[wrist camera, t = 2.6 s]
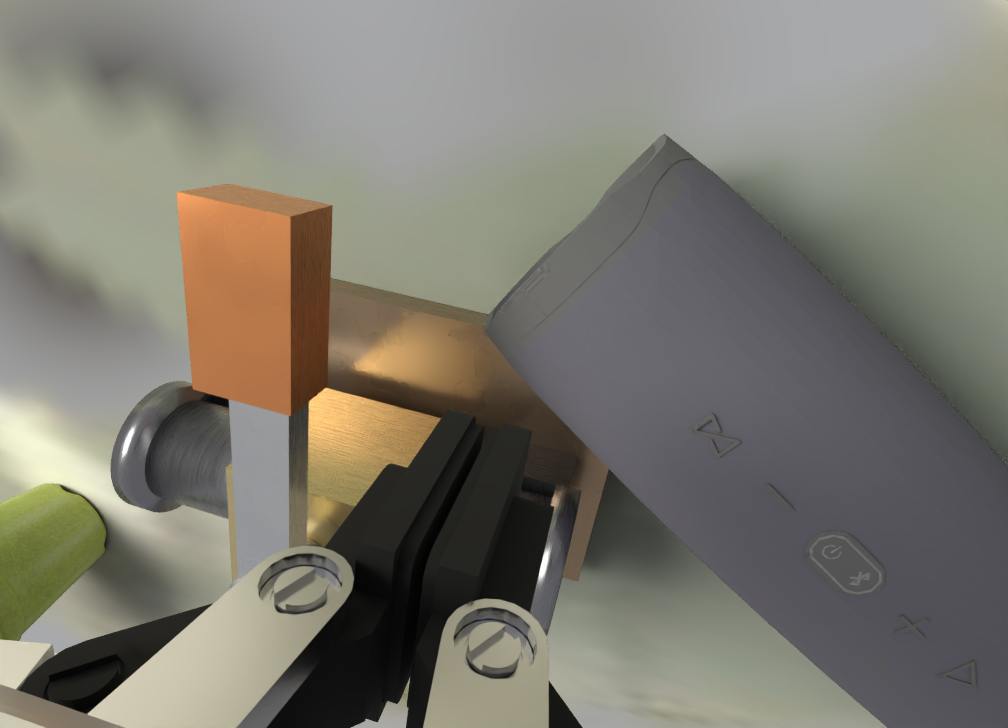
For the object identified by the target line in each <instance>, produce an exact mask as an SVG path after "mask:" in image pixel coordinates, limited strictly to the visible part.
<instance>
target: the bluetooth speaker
mask: <svg viewBox="0 0 1008 728" xmlns="http://www.w3.org/2000/svg"><path fill="white" fill-rule="evenodd" d="M484 332H485V333H486V335H487V336H488V337H489V339H490V340H491V341H492V342H493V343H494V344H495V346H496V347H497V348H498V349H499V351H500V352H501V353H502V355H503V356H504V357H505V359H506V360H507V361H508V362H509V364H510V365H511V366H512V367H513V368H514V369H515V371H516V372H517V373H518V374H519V375H520V376H521V377H522V379H523V380H524V381H525V382H526V383H527V384H528V385H529V386H530V388H531V389H532V390H533V391H534V392H535V393H536V394H537V395H538V396H539V397H540V398H541V400H542V401H543V402H544V403H545V404H546V405H547V406H548V407H549V408H550V409H551V410H552V411H553V412H554V413H555V414H556V415H557V416H558V417H559V418H560V419H561V420H562V421H563V422H564V423H565V424H566V425H567V426H568V427H569V428H570V429H571V430H572V431H573V433H574V434H575V435H576V436H577V437H578V438H579V439H580V440H581V441H582V442H583V443H584V444H585V445H586V446H587V447H588V448H589V449H590V450H591V451H592V452H593V453H594V454H595V455H596V456H597V457H598V458H599V459H600V460H601V461H602V462H603V463H604V464H605V466H606V467H607V468H608V469H609V470H610V471H611V472H612V473H613V474H614V475H615V476H616V477H617V478H618V479H619V480H620V481H621V482H622V483H623V484H624V485H625V486H626V487H627V488H628V489H629V490H630V491H631V492H632V493H633V494H634V495H635V496H636V497H637V498H638V499H639V500H640V501H641V502H642V503H643V504H644V505H645V506H646V507H647V508H648V509H649V510H650V511H651V512H652V513H653V514H654V515H655V516H656V517H657V518H658V519H659V520H660V521H661V522H662V523H663V524H664V525H665V526H666V527H667V528H668V529H670V530H671V531H672V532H673V533H674V534H675V535H676V536H677V537H678V538H679V539H680V540H681V541H682V542H683V543H684V544H685V545H686V546H687V547H688V548H689V549H690V550H691V551H692V552H693V553H694V554H695V555H696V556H697V557H699V558H700V559H701V560H702V561H703V562H704V563H705V564H706V565H707V566H708V567H709V568H710V569H711V570H712V571H713V572H714V573H715V574H716V575H717V576H718V577H719V578H721V579H722V580H723V581H724V582H725V583H726V584H727V585H728V586H729V587H730V588H731V589H732V590H733V591H734V592H735V593H737V594H738V595H739V596H740V597H741V598H742V599H743V600H744V601H745V602H746V603H747V604H748V605H749V606H751V607H752V608H753V609H754V610H755V611H756V612H757V613H758V614H759V615H760V616H761V617H762V618H763V619H765V620H766V621H767V622H768V623H769V624H770V625H771V626H772V627H773V628H775V629H776V630H777V631H778V632H779V633H780V634H781V635H782V636H784V637H785V638H786V639H787V640H788V641H789V642H790V643H791V644H792V645H794V646H795V647H796V648H797V649H798V650H799V651H800V652H801V653H803V654H804V655H805V656H806V657H807V658H808V659H809V660H810V661H812V662H813V663H814V664H815V665H816V666H817V667H818V668H819V669H820V670H822V671H823V672H824V673H825V674H826V675H827V676H828V677H830V678H831V679H832V680H833V681H834V682H835V683H836V684H838V685H839V686H840V687H841V688H842V689H843V690H845V691H846V692H847V693H848V694H849V695H850V696H852V697H853V698H854V699H855V700H856V701H857V702H859V703H860V704H861V705H862V706H863V707H864V708H865V709H867V710H868V711H869V712H870V713H871V714H872V715H874V716H875V717H876V718H877V719H878V720H879V721H881V722H882V723H883V724H884V725H885V726H886V727H888V728H1008V466H1007V465H1006V464H1005V463H1004V462H1003V461H1002V459H1001V458H1000V457H999V456H998V455H997V454H996V453H995V452H994V451H993V450H992V448H991V447H990V446H989V445H988V444H987V443H986V442H985V441H984V440H983V439H982V437H981V436H980V435H979V434H978V433H977V432H976V431H975V430H974V429H973V428H972V426H971V425H970V424H969V423H968V422H967V421H966V420H965V419H964V418H963V417H962V416H961V414H960V413H959V412H958V411H957V410H956V409H955V408H954V407H953V406H952V405H951V404H950V403H949V402H948V401H947V400H946V399H945V398H944V397H943V396H942V395H941V393H940V392H939V391H938V390H937V389H936V388H935V387H934V386H933V385H932V384H931V383H930V382H929V381H928V380H927V379H926V378H925V377H924V376H923V375H922V374H921V373H920V372H919V371H918V370H917V369H916V367H915V366H914V365H913V364H912V363H911V362H910V361H909V360H908V359H907V358H906V357H905V356H904V355H903V354H902V353H901V352H900V351H899V350H898V349H897V348H896V347H895V346H894V345H893V344H892V343H891V342H890V341H889V340H888V339H887V338H886V337H885V336H884V335H883V334H882V333H881V332H880V331H879V330H878V329H877V328H876V327H875V326H874V325H873V324H872V323H871V322H870V321H869V320H868V319H867V318H866V317H865V316H864V315H863V314H862V313H861V312H860V311H859V310H858V309H857V308H856V307H855V306H854V305H853V304H852V303H851V302H850V301H849V300H848V299H847V298H846V297H845V296H844V295H843V294H842V293H841V292H840V291H839V290H838V289H837V288H836V287H835V286H834V285H833V284H832V283H831V282H830V281H829V280H828V279H826V278H825V277H824V276H823V275H822V274H821V273H820V272H819V271H818V270H817V269H816V268H815V267H814V266H813V265H812V264H811V263H810V262H809V261H808V260H807V259H806V258H805V257H804V256H802V255H801V254H800V253H799V252H798V251H797V250H796V249H795V248H794V247H793V246H792V245H791V244H790V243H789V242H788V241H787V240H786V239H785V238H784V237H783V236H782V235H781V234H779V233H778V232H777V231H776V230H775V229H774V228H773V227H772V226H771V225H770V224H769V223H768V222H767V221H766V220H765V219H764V218H763V217H762V216H761V215H760V214H759V213H758V212H756V211H755V210H754V209H753V208H752V207H751V206H750V205H749V204H748V203H747V202H746V201H745V200H744V199H743V198H742V197H740V196H739V195H738V194H737V193H736V192H735V191H734V190H733V189H732V188H731V187H730V186H728V185H727V184H726V183H725V182H724V181H723V180H722V179H721V178H720V177H719V176H717V175H716V174H715V173H714V172H712V171H711V170H710V169H709V168H707V167H706V166H705V165H703V164H702V163H701V162H699V161H698V160H697V159H696V158H694V157H693V156H692V155H691V154H690V153H688V152H687V151H686V150H684V149H683V148H682V147H681V146H679V145H678V144H677V143H675V142H674V141H673V140H672V139H670V138H669V137H668V136H666V135H665V134H664V135H662V136H661V137H660V138H659V139H658V140H656V141H655V142H654V143H653V144H652V145H651V146H650V147H649V148H648V149H647V150H646V151H645V152H644V153H643V154H642V155H641V156H640V157H639V158H638V159H637V160H636V161H635V162H634V163H633V164H632V165H631V166H630V167H629V168H628V169H627V170H626V171H625V172H624V173H623V174H622V175H621V176H620V177H619V178H618V179H617V180H616V181H615V182H614V184H613V185H612V186H611V187H610V188H609V189H608V190H607V191H606V193H605V194H604V196H603V197H602V199H601V200H600V202H599V203H598V205H597V206H596V207H595V208H594V210H593V211H592V212H591V213H590V214H589V215H588V216H587V217H586V218H585V219H584V220H583V221H582V222H581V223H580V224H579V225H578V226H577V227H576V228H575V229H574V230H573V231H572V232H571V233H570V234H568V235H567V236H566V237H565V238H563V239H562V240H561V241H560V242H558V243H557V244H556V245H554V246H553V247H552V248H550V249H549V250H548V251H547V253H546V254H545V255H544V256H543V257H542V258H541V259H540V260H539V261H538V262H537V263H536V264H535V265H534V266H533V267H532V268H531V269H530V270H529V271H528V272H527V273H526V275H525V276H524V277H523V278H522V279H521V280H520V281H519V282H518V283H517V284H516V285H515V286H514V287H513V289H512V290H511V291H510V292H509V293H508V294H507V295H506V296H505V297H504V298H503V299H502V300H501V302H500V303H499V304H498V305H497V306H496V307H495V308H494V309H493V310H492V312H491V313H490V314H489V315H488V317H487V318H486V321H485V325H484Z"/></svg>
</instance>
